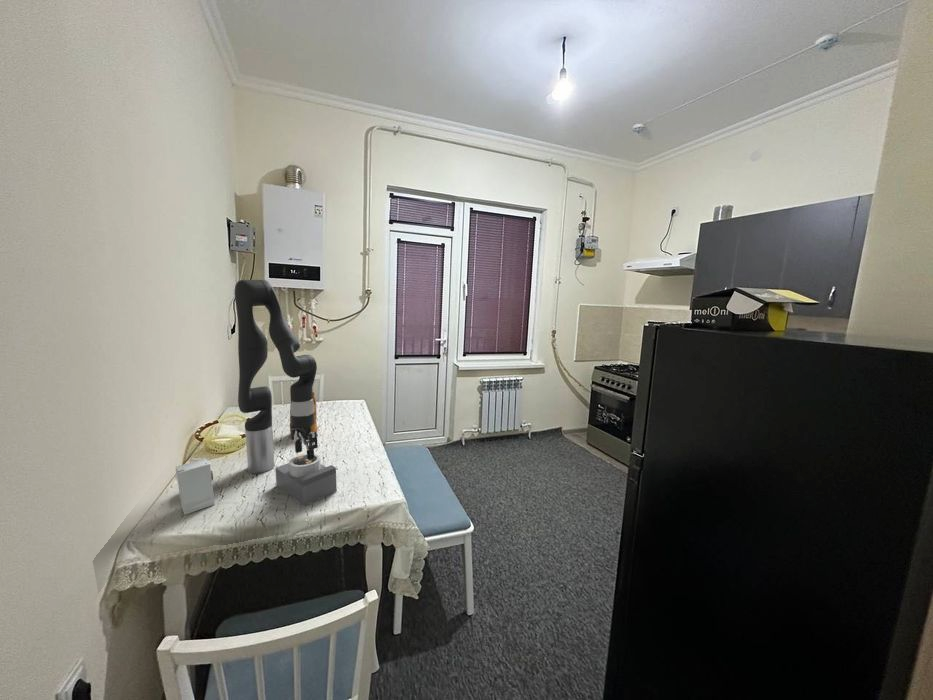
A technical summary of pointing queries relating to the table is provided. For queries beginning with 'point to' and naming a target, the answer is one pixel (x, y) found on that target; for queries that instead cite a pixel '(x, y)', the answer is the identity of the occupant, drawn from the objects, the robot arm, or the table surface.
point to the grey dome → (303, 461)
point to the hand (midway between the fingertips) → (304, 455)
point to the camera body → (306, 480)
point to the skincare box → (195, 485)
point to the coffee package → (314, 426)
